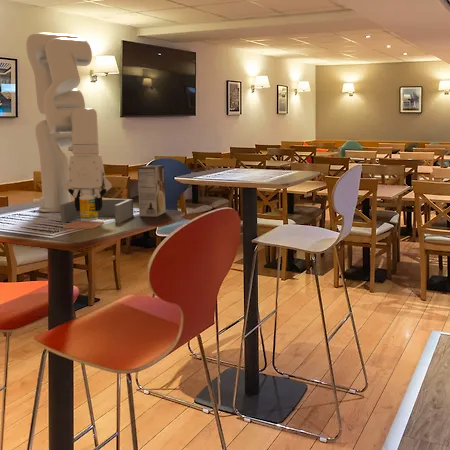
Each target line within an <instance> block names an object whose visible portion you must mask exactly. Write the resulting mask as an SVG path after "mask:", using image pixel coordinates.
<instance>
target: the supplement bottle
mask: <svg viewBox="0 0 450 450" xmlns="http://www.w3.org/2000/svg"><path fill="white" fill-rule="evenodd" d="M95 198H96V193H95V190H94V189H81V193H80V197H79V202H80V217H79V218H80V220H81V221H98V220H99V216H98V211H96V207H95Z"/></svg>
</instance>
